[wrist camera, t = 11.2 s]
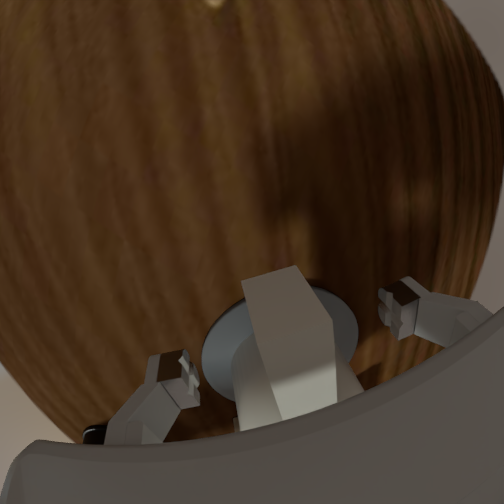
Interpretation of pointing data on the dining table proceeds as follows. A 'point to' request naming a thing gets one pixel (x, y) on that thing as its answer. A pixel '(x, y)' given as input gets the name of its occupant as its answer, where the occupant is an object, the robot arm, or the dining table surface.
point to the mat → (240, 327)
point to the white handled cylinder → (287, 353)
